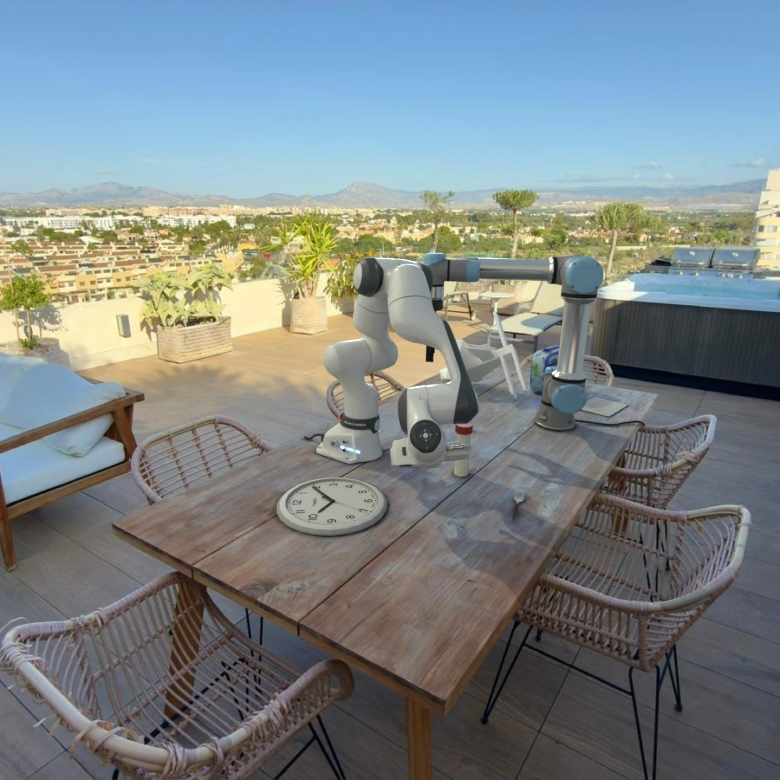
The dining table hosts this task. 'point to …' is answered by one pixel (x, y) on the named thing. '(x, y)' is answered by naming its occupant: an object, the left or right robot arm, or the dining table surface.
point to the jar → (462, 465)
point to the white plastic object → (488, 361)
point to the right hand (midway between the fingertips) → (430, 357)
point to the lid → (464, 428)
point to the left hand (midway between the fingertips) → (430, 459)
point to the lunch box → (542, 366)
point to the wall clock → (331, 506)
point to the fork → (517, 499)
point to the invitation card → (603, 406)
